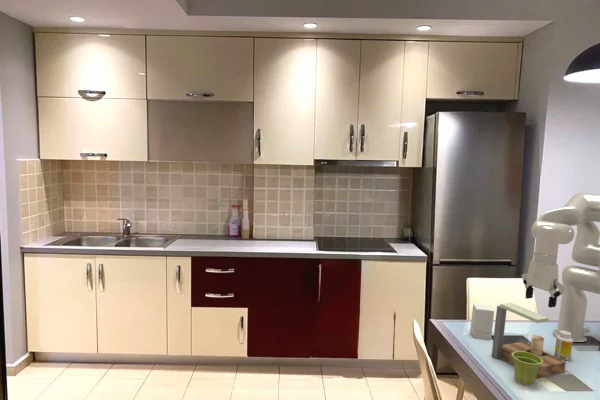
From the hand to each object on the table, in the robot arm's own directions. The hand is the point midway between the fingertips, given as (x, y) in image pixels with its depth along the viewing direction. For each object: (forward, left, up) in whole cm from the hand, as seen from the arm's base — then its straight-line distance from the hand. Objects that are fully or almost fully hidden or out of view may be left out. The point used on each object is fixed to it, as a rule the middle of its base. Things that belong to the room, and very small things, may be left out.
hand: (540, 302), depth 171 cm
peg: (+2, +2, -23) cm, 23 cm away
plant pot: (+18, +11, -23) cm, 31 cm away
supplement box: (+3, -24, -23) cm, 33 cm away
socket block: (+5, +2, -23) cm, 23 cm away
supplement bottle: (-13, +2, -23) cm, 27 cm away
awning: (+11, +2, -23) cm, 25 cm away
